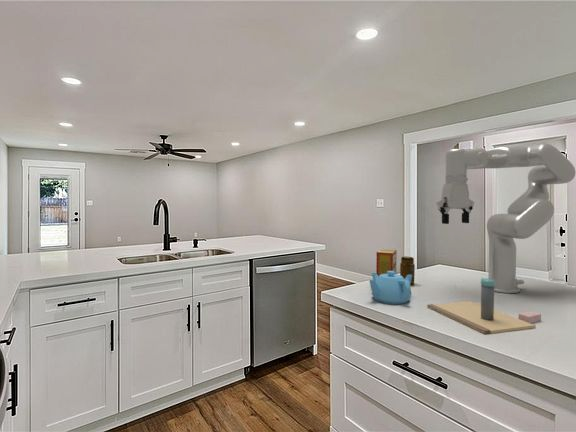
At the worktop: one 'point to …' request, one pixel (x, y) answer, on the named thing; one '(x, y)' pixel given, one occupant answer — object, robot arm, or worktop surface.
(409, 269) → the condiment
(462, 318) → the notepad
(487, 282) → the marker
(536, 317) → the eraser
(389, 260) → the baking soda box
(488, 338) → the worktop surface
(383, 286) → the teapot
